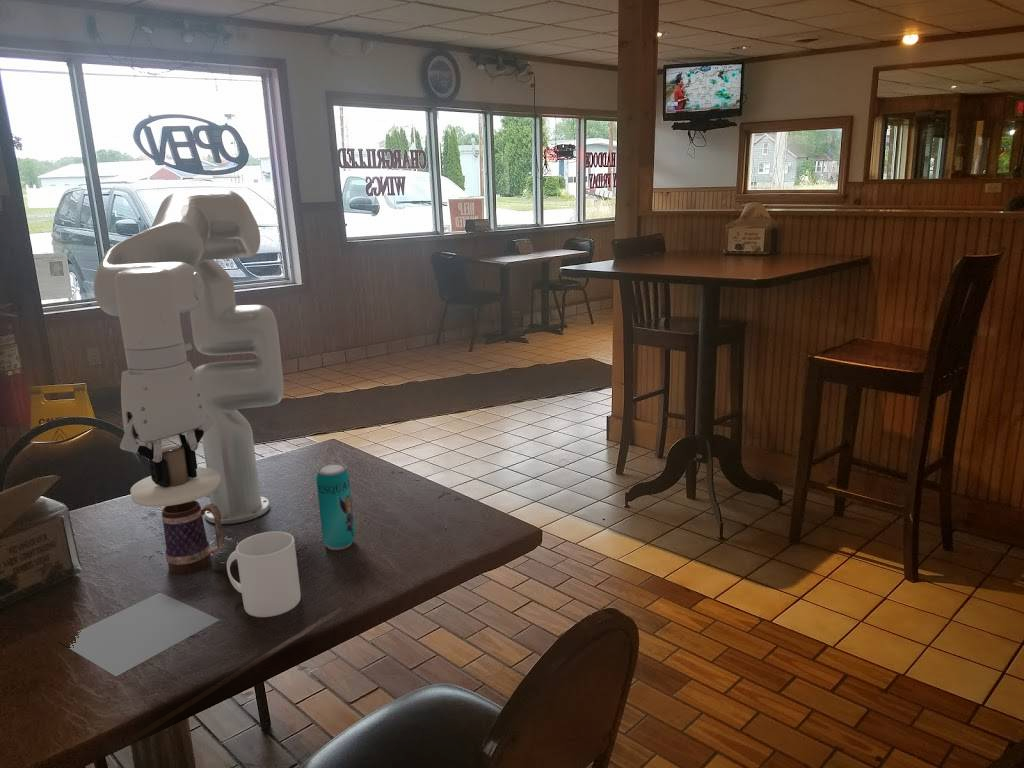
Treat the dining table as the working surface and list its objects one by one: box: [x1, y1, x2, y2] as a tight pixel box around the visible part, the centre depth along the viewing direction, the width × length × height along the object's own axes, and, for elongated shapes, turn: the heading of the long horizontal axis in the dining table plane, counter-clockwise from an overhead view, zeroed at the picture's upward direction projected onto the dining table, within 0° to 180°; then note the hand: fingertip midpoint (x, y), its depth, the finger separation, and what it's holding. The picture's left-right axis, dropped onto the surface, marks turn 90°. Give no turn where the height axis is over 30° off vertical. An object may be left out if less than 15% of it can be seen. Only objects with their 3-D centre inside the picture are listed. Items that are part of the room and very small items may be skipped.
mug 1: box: [161, 500, 225, 576], centre depth 129 cm, size 10×7×12 cm
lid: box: [129, 445, 221, 508], centre depth 108 cm, size 12×12×6 cm
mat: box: [68, 592, 221, 678], centre depth 111 cm, size 16×16×1 cm
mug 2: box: [226, 531, 302, 618], centre depth 116 cm, size 9×12×11 cm
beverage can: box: [315, 462, 355, 551], centre depth 135 cm, size 6×6×15 cm
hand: (175, 479), depth 108 cm, fingers closed on lid, 3 cm apart
